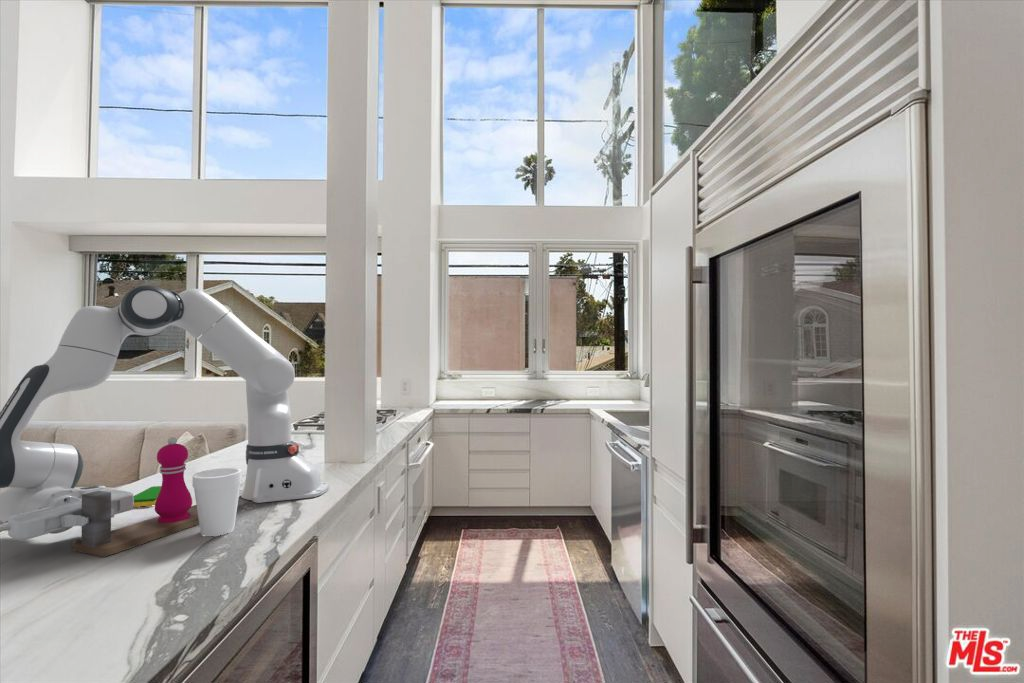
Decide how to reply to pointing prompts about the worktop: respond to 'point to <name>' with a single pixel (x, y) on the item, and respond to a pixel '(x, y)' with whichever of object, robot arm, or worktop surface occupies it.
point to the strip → (108, 542)
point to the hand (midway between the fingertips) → (99, 517)
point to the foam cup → (217, 499)
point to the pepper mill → (173, 484)
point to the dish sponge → (147, 497)
